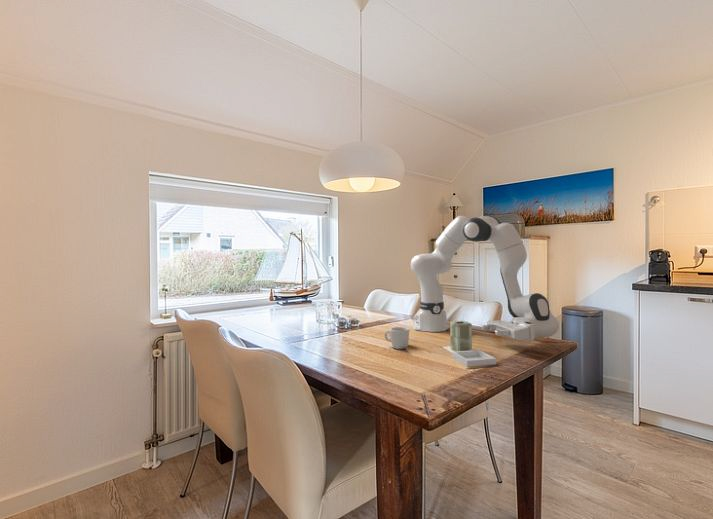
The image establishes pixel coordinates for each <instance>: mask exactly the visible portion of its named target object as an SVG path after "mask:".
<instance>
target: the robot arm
mask: <svg viewBox="0 0 713 519" xmlns="http://www.w3.org/2000/svg"><path fill="white" fill-rule="evenodd" d="M467 240H468V241H470V242H478V243H479V242H487V241H490V242H491V243H492V244H493V246H494V248H495V251H496V253H497V257H498V259H499V265H500V268H499V270H500V277H501V279H502V283H503V287H504V290H505V294H506V298H507V309H508V312H509V314H510V315H511V317H512V318H511V319H510V321H506V320H500V319H499V320H488V321H486V324H485V325H482V326H481V330H482V331H488V330H489V331H491V332H494V335H496V336H504V337H508V338H511V339H513V340H519V341H530V342H531V341H534V342H535V339H536V338H537V339H539V338H540V339H541V338H548V337H551V336H554V335H556V333H558V331H559V327H560V324H559V320H558V318H557V317H556V316H555V315H554V314H553V313H552V311H551V309H550V303H549V301H548V299H547V298H546V296H545V295H543V294H542V293H531V294H530V293H529V294H527V295H523V294H522V291H521V287H520V285H519V280H518V273H519V270H520V269H521V268H522V267H523V265H524V264H525V263H526V261H527V258H528V254H527V249H526V247H525V244H524V242H523V240H522V238H521V236H520V234H519V232H518V231H517V229H516V228H515V226H514V225H513V224H512V223H509V222H501V221H500V220H499V219H498V218H496V217H495V216H491V215H487V216H486V215H481V216H477V217H471V218H469V217H467V216H465V215H458V216H456V217H455V218H454V219H452V221H450V223H449V224H448V225H447V226H446V227H445V228H444V230H443V231H442V232H441V234H440V235H439V236H438V237H437V239H436V240H435V242H434V243H435V249H434V251H432V252H431V253H420V254H416V255H414V256H413V257H412V258H411V261H410V268H411V271H412V272H413V274H414V275H416V278H417V279H418V282H419V286H420V302H419V309H418V310H417V311H416V313H415V315H413V317H412V319H413V322H410V325H411V327H412V328H413V330H414V331H419V332H421V331H423V332H429V333H430V332H431V333H435V332H436V333H439V332H445V331H446V330H448V329H450V325H448V319H447V312H446V311H445V310H444V309H445V304H444V288H443V285H442V284H441V283H440V282H439V280H438V278H437V277H438V276H437V275H442V274H445V273H447V272H449V271H450V270H451V268H452V266H453V262H452V260H453V257H454V256H455V254H456V253H458V250H460V248H461V247H462V246H463V245H464V243H465V242H466V241H467Z"/></svg>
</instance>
